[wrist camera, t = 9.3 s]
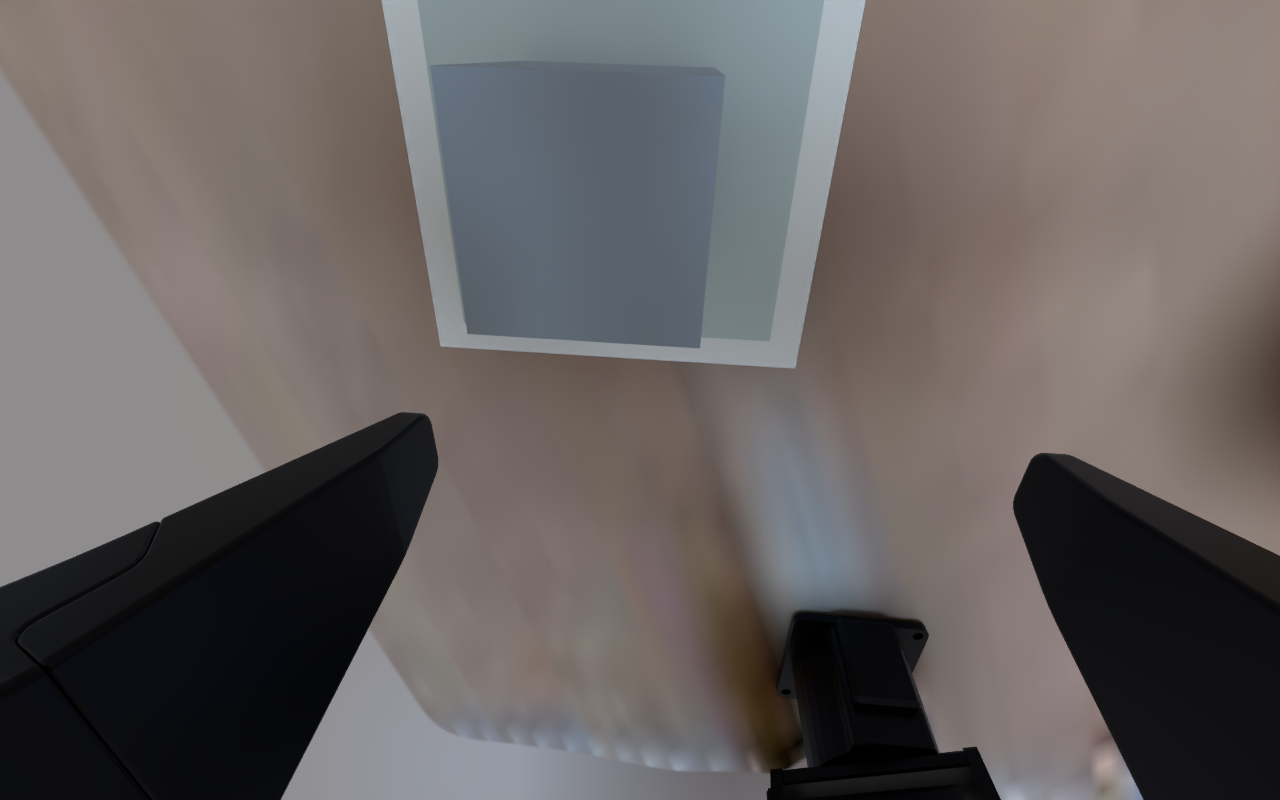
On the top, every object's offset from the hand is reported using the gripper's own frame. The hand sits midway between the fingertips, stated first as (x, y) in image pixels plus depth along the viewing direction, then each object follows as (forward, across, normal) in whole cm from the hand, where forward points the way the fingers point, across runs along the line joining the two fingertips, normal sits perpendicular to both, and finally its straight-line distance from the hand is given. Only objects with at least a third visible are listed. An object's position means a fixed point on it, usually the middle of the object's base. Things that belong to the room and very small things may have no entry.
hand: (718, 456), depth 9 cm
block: (+10, +3, -3) cm, 11 cm away
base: (+12, +3, -3) cm, 13 cm away
